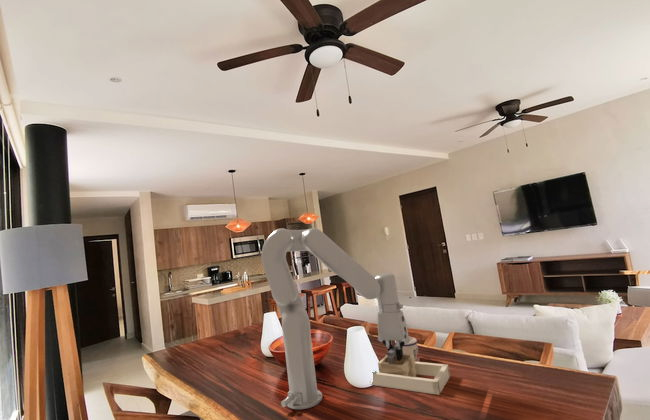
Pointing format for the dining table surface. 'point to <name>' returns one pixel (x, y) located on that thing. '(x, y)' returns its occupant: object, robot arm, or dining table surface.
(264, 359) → the dining table surface
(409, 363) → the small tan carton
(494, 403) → the dining table surface
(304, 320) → the robot arm
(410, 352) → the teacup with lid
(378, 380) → the bay
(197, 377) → the dining table surface
